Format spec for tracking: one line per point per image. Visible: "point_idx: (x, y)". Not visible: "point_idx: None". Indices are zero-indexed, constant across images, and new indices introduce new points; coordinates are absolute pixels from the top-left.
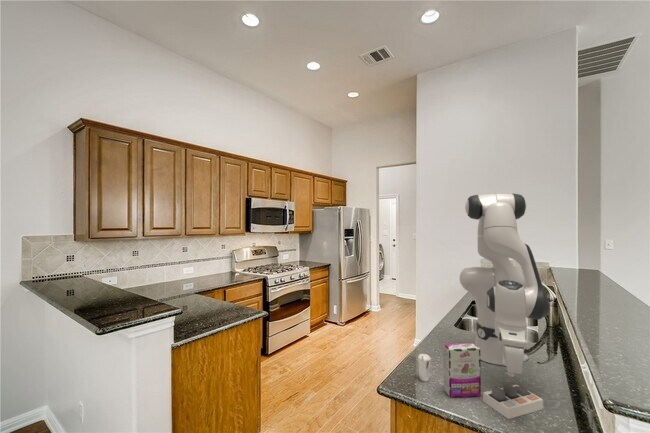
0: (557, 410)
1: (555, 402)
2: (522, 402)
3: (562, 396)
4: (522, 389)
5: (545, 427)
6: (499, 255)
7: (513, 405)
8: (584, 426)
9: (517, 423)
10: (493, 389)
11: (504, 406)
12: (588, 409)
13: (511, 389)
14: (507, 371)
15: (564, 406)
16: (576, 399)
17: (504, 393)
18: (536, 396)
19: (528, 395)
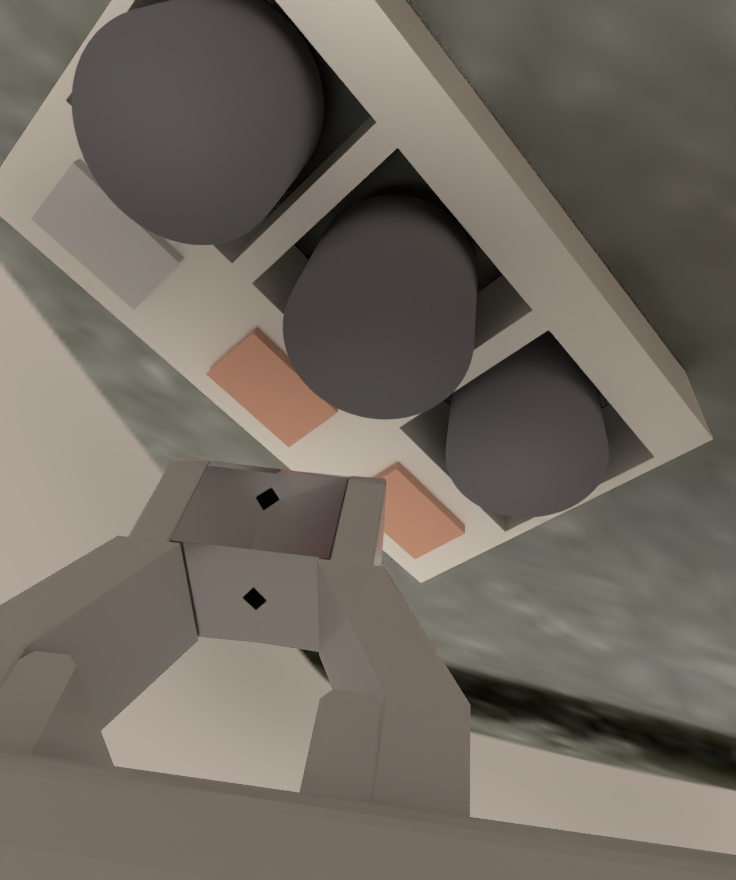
0: (455, 596)
1: (584, 623)
2: (231, 394)
3: (704, 691)
4: (526, 473)
5: (144, 449)
6: None
7: (112, 280)
8: (315, 658)
9: None
10: (174, 45)
11: (14, 160)
12: (549, 746)
13: (340, 352)
14: (228, 497)
15: (539, 652)
16: (676, 743)
17: (152, 225)
18: (464, 550)
19: (453, 489)
